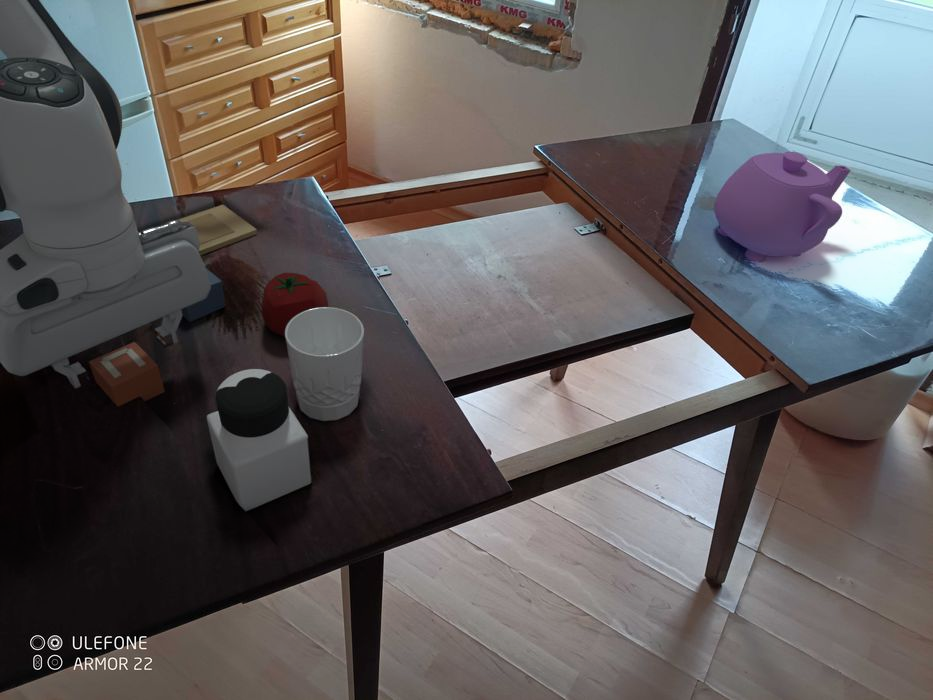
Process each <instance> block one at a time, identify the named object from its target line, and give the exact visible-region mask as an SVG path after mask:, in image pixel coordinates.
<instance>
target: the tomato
mask: <svg viewBox="0 0 933 700" xmlns="http://www.w3.org/2000/svg"><path fill="white" fill-rule="evenodd" d="M320 307H329V300H328V297H327V293H326V291H325V290H324V289H323V287H322V286H321V285H320V283H318V281H316V280H314V279H311V278H310V277H308V276H307V275H304V274H301V273H298V272H282V273H280V274H277V275H275V276H274V277H272V278H271V279H270V280H269V281H268V282H267V284H266V285H265V287H264V289H263V294H262V301H261V316H262V319H263V321H264V324H265V325H266V327H267V328H268V329H269V330H270V331H271V332H272V333H274V334H277V335H280V336H282V337H283V338H285V329H286V326H287V324H288V323H289V321H290V320H291V319H292V318H293V317H295V316H296V315H298V314H299V313H301V312H304V311H306V310H309V309H313V308H320Z"/></svg>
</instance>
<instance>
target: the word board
mask: <svg viewBox="0 0 933 700" xmlns="http://www.w3.org/2000/svg"><path fill="white" fill-rule="evenodd" d="M178 220H180V221H181V222H189V223H191V224H193V225H194V226H195V228H196V229H197V232H198V236H199V241H200V248H199V251H198V252H199V254H200V256H204V255H205V254H208V253H210V252H213V251H216V250H218V249H221V248H224V247H227V246H229V245H232V244H235V243H237V242H240V241H243V240H245V239H248V238H250V237H253V236H256V235H258V229H257V228H255V227H254V226H253V225H251V224H250V223H249V222H247V221H246V220H245V219H243V218H242V217H241V216H239V215H238V214H236V213H235V212H234V211H232V209H229V208H228V207H227V206H225V205H224V204H220V205H218V206H215V207H211V208H209V209H206V210H203V211H199V212H196V213H194V214H190V215H188V216H185V217H181V218H179V219H178Z"/></svg>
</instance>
